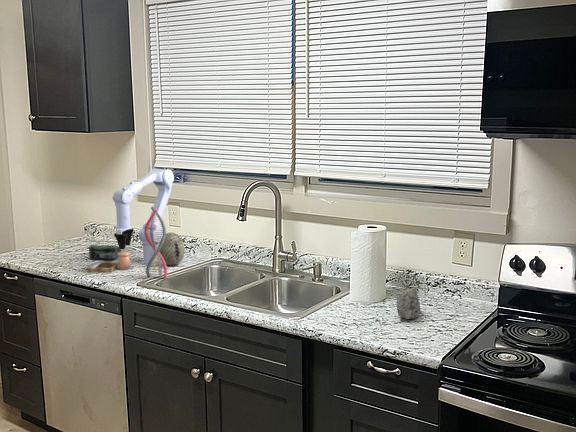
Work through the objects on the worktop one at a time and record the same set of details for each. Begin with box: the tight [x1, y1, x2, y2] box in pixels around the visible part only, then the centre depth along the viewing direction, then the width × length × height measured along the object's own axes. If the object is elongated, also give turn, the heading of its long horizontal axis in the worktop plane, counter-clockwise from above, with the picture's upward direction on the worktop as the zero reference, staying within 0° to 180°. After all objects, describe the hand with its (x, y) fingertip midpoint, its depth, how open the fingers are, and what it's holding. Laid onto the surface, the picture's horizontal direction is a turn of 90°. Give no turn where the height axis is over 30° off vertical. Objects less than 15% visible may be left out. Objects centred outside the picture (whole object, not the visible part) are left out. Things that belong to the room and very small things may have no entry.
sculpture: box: [88, 244, 123, 261], centre depth 299 cm, size 12×8×15 cm
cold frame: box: [85, 260, 119, 274], centre depth 281 cm, size 11×13×2 cm
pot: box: [118, 251, 131, 271], centre depth 280 cm, size 5×5×7 cm
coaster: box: [118, 265, 135, 272], centre depth 281 cm, size 7×7×1 cm
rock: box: [396, 287, 421, 320], centre depth 217 cm, size 15×8×10 cm, turn 142°
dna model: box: [144, 206, 168, 279], centre depth 264 cm, size 9×9×30 cm
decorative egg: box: [159, 232, 186, 266], centre depth 288 cm, size 12×12×15 cm
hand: (124, 247), depth 280 cm, fingers open, 7 cm apart
